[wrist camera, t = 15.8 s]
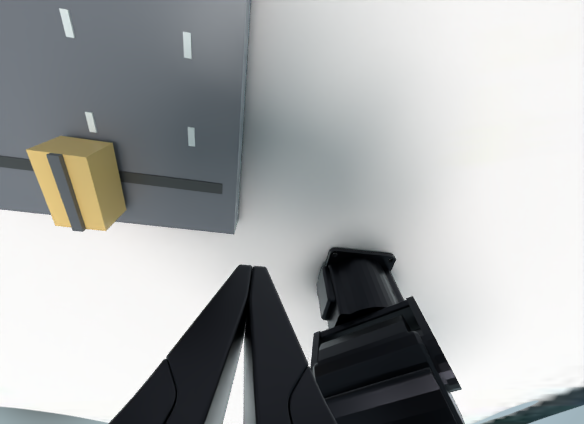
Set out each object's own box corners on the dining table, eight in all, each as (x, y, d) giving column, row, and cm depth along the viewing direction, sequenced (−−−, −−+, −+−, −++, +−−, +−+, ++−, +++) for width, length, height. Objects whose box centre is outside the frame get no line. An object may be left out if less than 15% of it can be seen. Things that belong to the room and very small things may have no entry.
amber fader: (112, 142, 16) (82, 159, 14) (126, 209, 19) (103, 233, 17) (60, 135, 16) (21, 151, 14) (82, 204, 19) (51, 228, 16)
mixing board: (258, -130, 12) (254, -160, 10) (237, 220, 23) (233, 235, 21) (-200, -250, 10) (-301, -312, 8) (8, 194, 21) (-17, 208, 19)
